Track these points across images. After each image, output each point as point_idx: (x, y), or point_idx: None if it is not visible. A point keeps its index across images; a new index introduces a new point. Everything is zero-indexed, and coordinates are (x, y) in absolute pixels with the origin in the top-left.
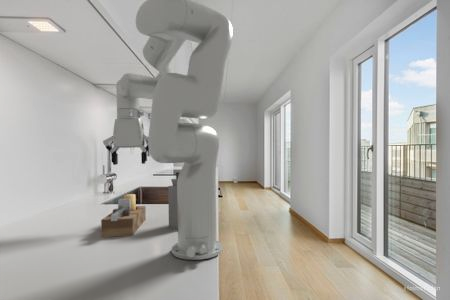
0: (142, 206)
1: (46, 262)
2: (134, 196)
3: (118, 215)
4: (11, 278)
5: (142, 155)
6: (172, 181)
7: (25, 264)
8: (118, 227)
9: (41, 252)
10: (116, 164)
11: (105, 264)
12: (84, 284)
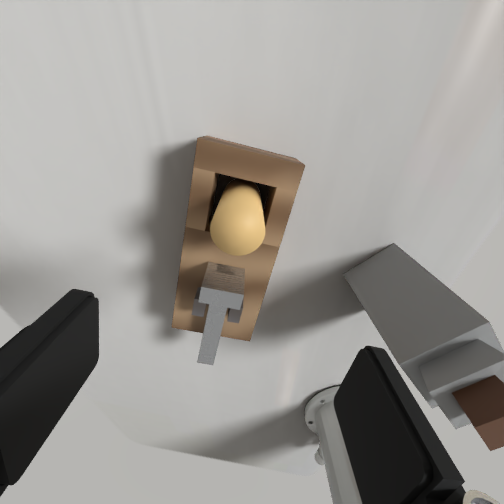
0: (291, 171)
1: (130, 388)
2: (259, 243)
3: (215, 355)
4: (113, 416)
5: (368, 489)
6: (427, 385)
7: (103, 386)
8: None
9: None
10: (94, 311)
11: (215, 412)
12: (202, 443)
